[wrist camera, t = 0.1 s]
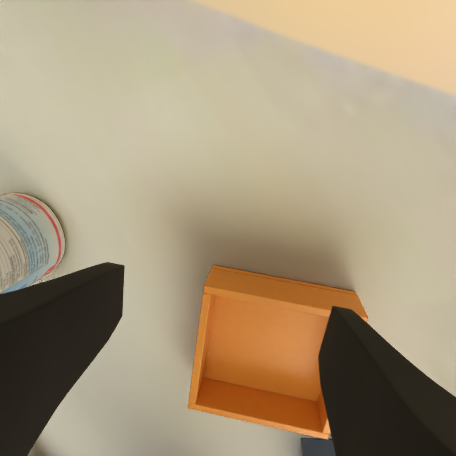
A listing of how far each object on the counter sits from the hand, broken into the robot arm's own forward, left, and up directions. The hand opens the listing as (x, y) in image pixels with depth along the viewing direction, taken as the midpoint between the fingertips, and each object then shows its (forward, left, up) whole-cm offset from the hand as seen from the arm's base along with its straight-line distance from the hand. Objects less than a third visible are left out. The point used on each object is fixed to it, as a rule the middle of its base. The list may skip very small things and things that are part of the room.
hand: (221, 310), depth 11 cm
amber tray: (-8, -3, -10) cm, 13 cm away
